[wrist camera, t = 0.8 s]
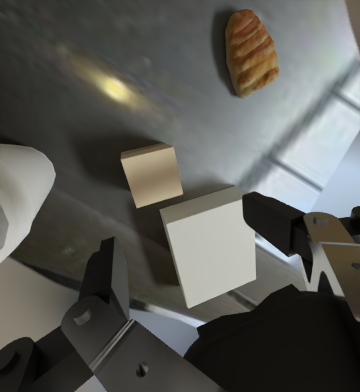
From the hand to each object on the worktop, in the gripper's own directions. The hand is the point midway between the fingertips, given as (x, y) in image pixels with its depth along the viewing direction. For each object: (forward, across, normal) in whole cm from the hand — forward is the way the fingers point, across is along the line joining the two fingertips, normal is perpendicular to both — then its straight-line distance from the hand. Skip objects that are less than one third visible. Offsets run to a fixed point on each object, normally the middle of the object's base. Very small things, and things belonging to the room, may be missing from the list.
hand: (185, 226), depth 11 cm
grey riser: (+17, -7, +16) cm, 25 cm away
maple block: (+17, 0, 0) cm, 17 cm away
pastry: (+18, -17, -11) cm, 27 cm away
